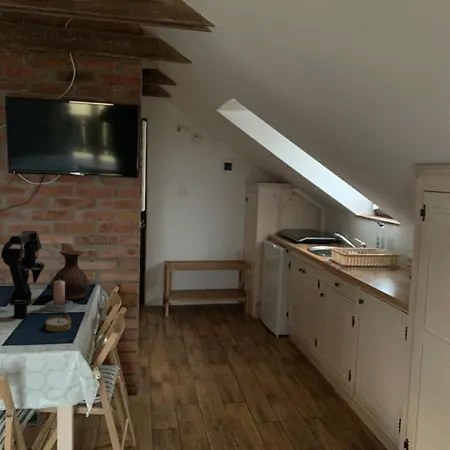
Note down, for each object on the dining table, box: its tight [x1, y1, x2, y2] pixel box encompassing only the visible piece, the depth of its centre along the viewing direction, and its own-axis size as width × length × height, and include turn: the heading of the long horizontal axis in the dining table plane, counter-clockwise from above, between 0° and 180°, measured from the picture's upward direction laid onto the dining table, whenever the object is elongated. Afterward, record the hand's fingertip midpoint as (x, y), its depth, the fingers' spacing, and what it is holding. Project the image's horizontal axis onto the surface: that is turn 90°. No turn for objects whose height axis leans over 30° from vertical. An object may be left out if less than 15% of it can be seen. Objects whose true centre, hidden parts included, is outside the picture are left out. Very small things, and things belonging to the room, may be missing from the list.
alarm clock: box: [45, 314, 72, 333], centre depth 236 cm, size 11×5×15 cm
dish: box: [39, 299, 79, 314], centre depth 267 cm, size 14×14×3 cm
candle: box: [53, 279, 66, 306], centre depth 266 cm, size 6×6×14 cm
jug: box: [50, 242, 91, 301], centre depth 287 cm, size 22×22×30 cm
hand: (29, 284), depth 261 cm, fingers open, 9 cm apart
